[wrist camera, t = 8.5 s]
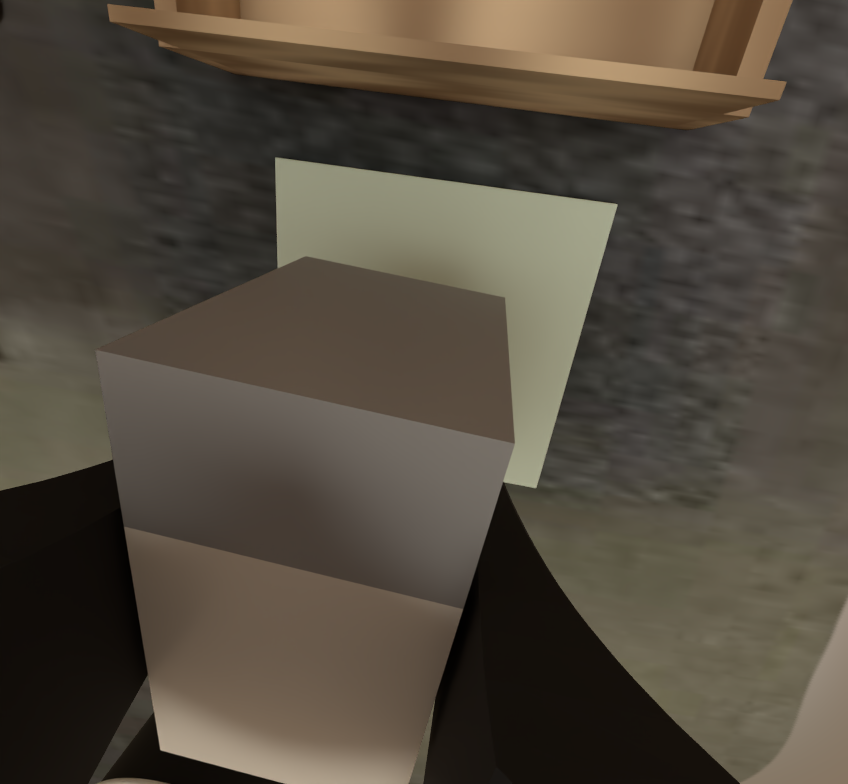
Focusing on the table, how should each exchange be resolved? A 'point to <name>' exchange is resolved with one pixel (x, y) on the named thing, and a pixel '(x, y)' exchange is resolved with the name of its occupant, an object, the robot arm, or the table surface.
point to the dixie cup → (169, 765)
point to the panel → (464, 264)
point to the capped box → (307, 511)
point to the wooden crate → (497, 51)
